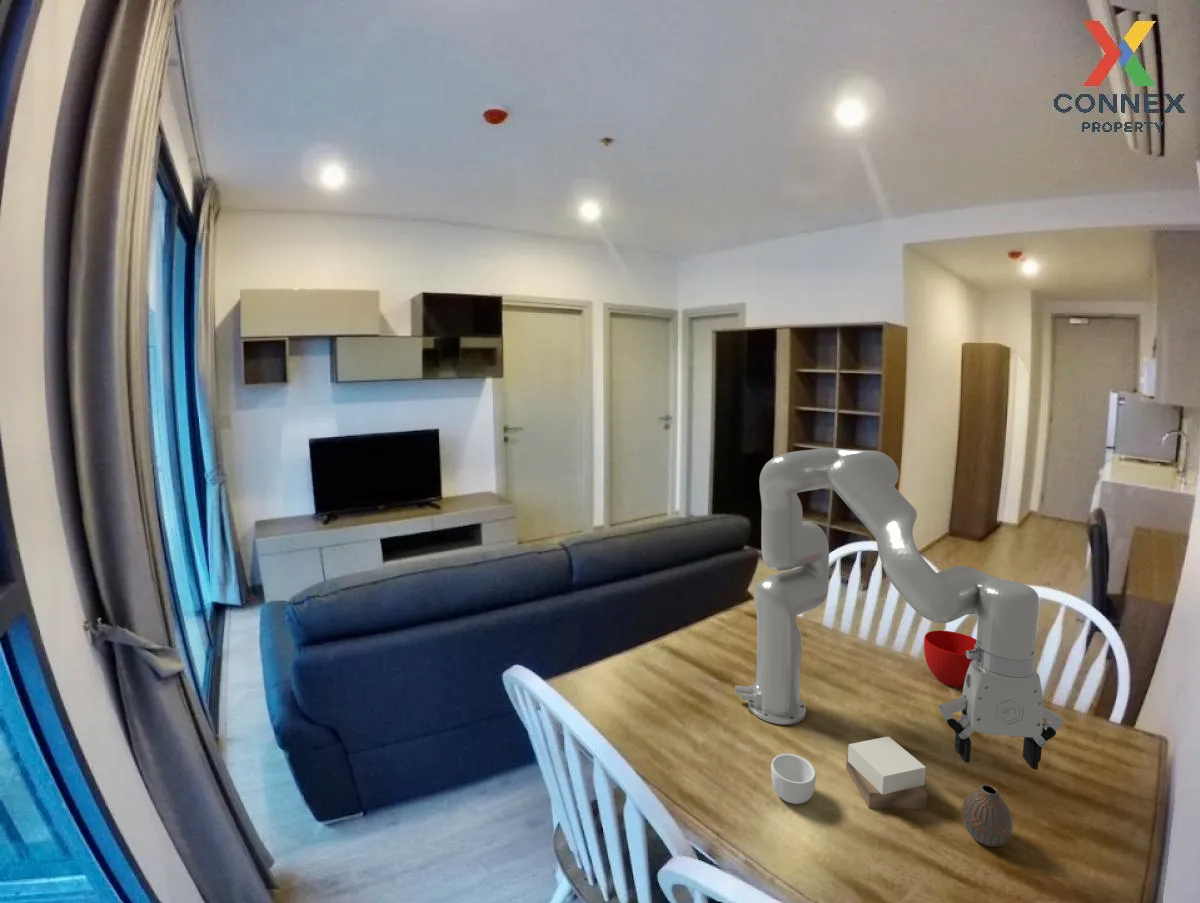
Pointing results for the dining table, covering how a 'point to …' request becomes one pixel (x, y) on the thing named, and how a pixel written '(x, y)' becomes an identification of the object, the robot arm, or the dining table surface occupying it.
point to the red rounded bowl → (948, 656)
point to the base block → (895, 800)
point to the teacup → (793, 778)
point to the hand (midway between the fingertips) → (996, 760)
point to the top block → (886, 765)
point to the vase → (987, 816)
